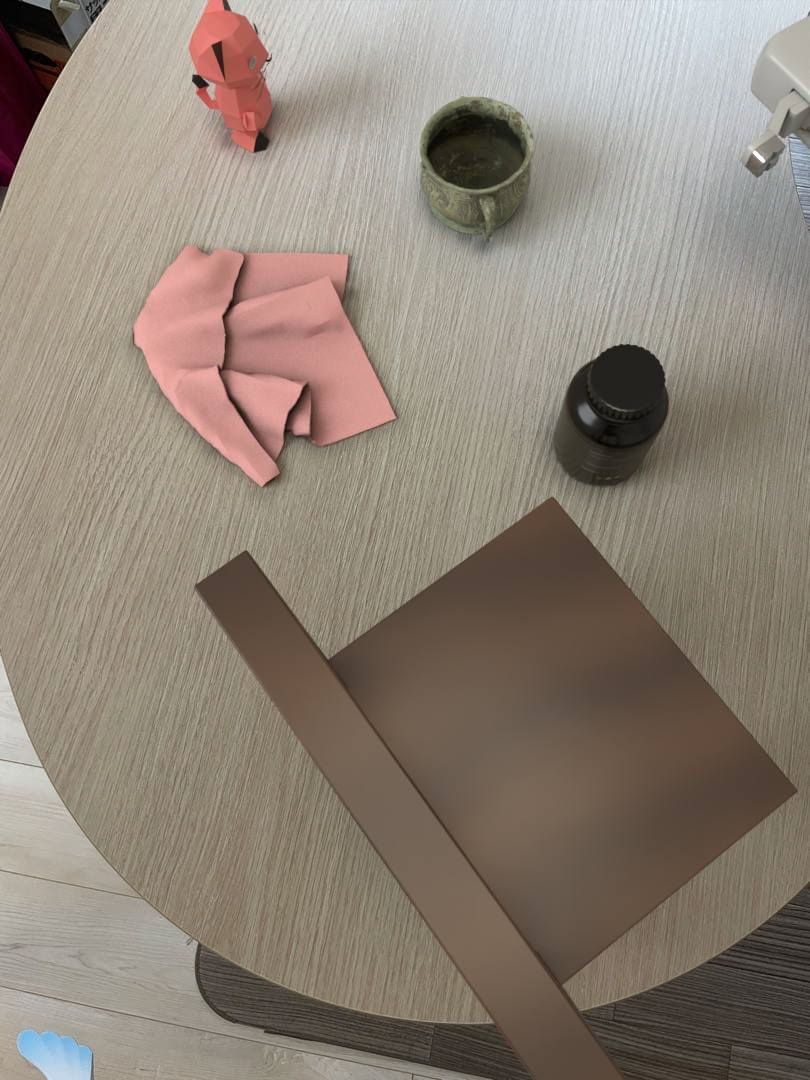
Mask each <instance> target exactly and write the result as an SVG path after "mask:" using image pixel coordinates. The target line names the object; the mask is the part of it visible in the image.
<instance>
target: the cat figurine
mask: <svg viewBox="0 0 810 1080" xmlns="http://www.w3.org/2000/svg"><path fill="white" fill-rule="evenodd" d="M252 25H253V26H252ZM262 32H263V34H264V36H265V38H267V35H266V32H265V30H262ZM259 35H260V34H259V30H258V27H257V26H256V23H255V22H253V23H252V24H251V22H250V21H249V19H248V18H247V16H246V15H243V14H240V13H237V12H235V11H233V10H232V8H231V6H230V3H229V1H228V0H208V1H207V3H206V5H205V8H204V9H203V13H202V15H201V16H200V18H199V21H198V23H197V24H196V26H195V28H194V30H193V33H192V34H191V38H190V41H189V45H188V51H189V54H190V57H191V59H192V63H193V66H194V69H195V71H196V74H192V75H191V83H193V84H194V86H196V87H195V94H196V96H198V97H199V99H200V100H201V101H202V102H203V103H204V104H205V106H207V107H208V109H209V110H215V111H216V110H217V111H220V114H221V116H222V119H223V121H224V122H223V123H224V124H225V127H226V128H227V129H231V130H233V132H232V133H231V135H230V139H231V140H232V141H233V142H234V143H235V144H236V145H237V146H238V147H239V148H242V149H245V150H247V151H249V152H251V153H254V154H255V153H257V152H258V153H259V152H261V151H266V150H267V148H268V147H269V144H270V142H271V140H270V139H268V137H267V136H266V134H264V132H262V131H261V130H260V129H264V128H265V127H266V124H267V122H268V120H269V118H270V116H271V114H273V103H272V96H271V93H270V90H269V88H268V86H267V83H266V81H267V79H266V76H267V73H268V72H267V71H266V70H267V67H268V65H269V64H270V62H272V59H273V52H271V53H270V54H269V51H268V50H267V49H266V47H265V45H264V44H263V41H262V40H261V38H260V37H259ZM265 42H266V44H268V43H267V39H265ZM268 58H269V59H268ZM266 63H267V64H266ZM265 64H266V66H265ZM264 66H265V67H264ZM262 69H263V70H262ZM208 82H209V83H208ZM210 83H212V84H214V85H215V86H214V87H215V88H214V94H213V95H214V98H215V99H212V97H211V96H210V95H209V92H208V91H207V89H208V88H209V87H210V86H211V85H210Z"/></svg>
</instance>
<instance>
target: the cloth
mask: <svg viewBox="0 0 810 1080" xmlns="http://www.w3.org/2000/svg"><path fill="white" fill-rule="evenodd" d="M348 264H349V254H339V253H319V252H282V251H281V252H238V251H235V250H231V249H226V248H216V250H214V251H213V252H212V253H211V254H208V253H204V252H202V251H201V250H200V249H199V248H197V247H196V246H195V245H185V246H184V248H183V249H182V250H181V252H179V254H178V256H177V258H176V259H175V261H174V262H173V263H171V264H170V265H169V266H167V268H166V270H165V271H164V272H163V273H162V276H161V277H160V279H159V280H158V282H157V283H156V285H155V286H154V287H153V289H152V290H150V292H149V294H148V296H147V298H146V301H145V304H144V306H143V307H142V309H141V310H140V312H139V314H138V316H137V318H136V320H135V322H134V324H133V325H132V328H131V331H132V344H133V346H135V347H137V348H139V349H141V351H142V353H143V356H144V358H145V360H146V363H147V366H148V368H149V371H150V373H151V374H152V376H153V378H154V379H155V381H156V382H157V383H158V384H159V388H160V389H161V392H162V394H163V395H164V396H165V398H167V400H168V401H169V402H170V403H171V405H172V406H173V407H174V409H175V410H176V412H177V413H178V414H179V415H180V416H181V417H182V419H184V421H186V422H188V423H189V424H190V426H191V427H192V428H193V429H194V430H195V432H196V433H197V434H198V435H199V436H200V437H201V438H202V439H203V440H204V441H205V442H206V443H209V444H210V445H212V446H213V448H214V449H215V450H216V451H217V452H218V453H219V454H220V455H221V456H222V457H223V458H225V459H226V460H227V461H228V462H229V463H231V464H233V465H235V466H237V467H238V468H240V469H241V470H242V471H243V472H244V473H245V474H246V475H247V476H248V477H249V478H250V479H251V480H253V481H254V482H255V483H256V484H257V485H258V486H259V487H260V488H262V487H263V486H264V485H265V484H267V483H268V482H269V481H271V480H272V479H273V478H275V477H277V476H278V475H280V474H281V472H280V470H279V468H278V466H277V464H276V463H277V460H278V458H279V456H280V454H281V452H282V451H283V447H284V445H285V431H291V432H292V434H293V435H294V436H295V437H297V436H301V437H303V439H305V440H306V441H307V442H309V443H312V444H313V445H316V446H318V447H324V446H329V445H332V444H334V443H337V442H340V441H343V440H346V439H348V438H350V437H353V436H356V435H359V434H361V433H363V432H366V431H369V430H372V429H374V428H377V427H380V426H381V425H383V424H386V423H389V422H392V421H394V420H397V417H396V415H395V413H394V410H393V408H392V406H391V403H390V402H389V399H388V397H387V395H386V393H385V391H384V389H383V387H382V385H381V383H380V381H379V379H378V377H377V374H376V372H375V370H374V368H373V366H372V364H371V362H370V359H369V358H368V356H367V354H366V352H365V350H364V347H363V345H362V343H361V340H359V337H358V336H357V333H356V332H355V330H354V328H353V326H352V324H351V322H350V320H349V319H348V317H347V314H346V313H345V310H344V307H343V299H344V295H345V290H346V284H347V283H346V282H347V275H348V266H349V265H348Z"/></svg>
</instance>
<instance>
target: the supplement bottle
mask: <svg viewBox="0 0 810 1080" xmlns="http://www.w3.org/2000/svg"><path fill="white" fill-rule="evenodd" d="M665 376H666V372H665V371H664V366H663V365H662V363H661V361H660V359H659V358H657V356H656V354H653V353H652V352H651V351H650V350H649V349H646V348H645V347H643V346H639V345H637V344H630V343H626V344H624V343H623V344H622V343H620V344H618V345H613V346H611V347H607V348H606V349H605V350H604V351H602V352H600V354H599V355H598V356H597V357H595V358H593V359H591V360H590V361H588V362H586V363H585V364H584V365H582V366H581V367H579V369H578V370H577V371H576V373H574V375H573V376H572V379H571V380H570V382H569V385H568V386H567V389H566V393H565V397H564V399H563V403H562V406H561V410H560V413H559V417H558V420H557V423H556V427H555V431H554V437H553V446H554V452H555V456H556V458H557V461H558V462H559V464H560V465H561V467H562V468H563V470H564V471H565V472H566V473H567V474H568V475H570V476H571V477H572V478H574V479H575V480H577V481H579V482H581V483H583V484H586V485H589V486H590V485H591V486H597V487H606V486H612V485H615V484H618V483H621V482H623V481H625V480H626V479H628V478H629V477H630V476H632V475H634V473H635V472H636V471H637V470H638V469H639V468H640V465H641V464H642V463H643V462H644V459H645V458H646V456H647V454H648V453H649V451H650V450H651V447H652V446H653V444H654V442H655V441H656V439H657V437H658V436H659V434H660V432H661V431H662V428H663V427H664V425H665V423H666V420H667V417H668V414H669V409H670V399H669V393H668V389H667V386H666V381H667V379H666V377H665Z"/></svg>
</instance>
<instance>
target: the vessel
mask: <svg viewBox="0 0 810 1080" xmlns="http://www.w3.org/2000/svg"><path fill="white" fill-rule="evenodd" d="M426 121H427V122H426V123H425V125H424V127H423V129H422V131H421V133H420V140H419V155H420V159H421V161H420V177H419V181H420V182H419V183H420V187H421V189H422V192H423V193H424V196H425V197H426V199H427V204H428V206H429V208H430V209H431V212H432V214H433V216H434V217H435V218H436V219H437V220H438V221H440V222H441V224H443V225H444V226H446V227H447V228H450V229H452V230H454V231H456V232H459V233H463V234H467V235H481V234H482V239H483V242H484V243H486V244H489V243H490V238H492V237H493V236H494V234H495V230H496V229H498V228H500V227H501V226H503V225H504V224H505V223H506V222H507V221H508V220H509V219H511V217H513V216H514V214H515V212H516V210H517V208H518V206H519V205H520V203H521V202H522V201H523V198H524V196H525V194H526V192H527V190H528V187H529V185H530V182H531V160H532V158H533V156H534V142H535V141H534V134H533V131H532V129H531V127H530V125H529V123H528V122H527V120H526V118H525V116H524V115H523V114H522V113H521V112H520V111H518V110H517V109H515V108H514V107H513V106H511V105H510V104H509V103H505V102H502V101H500V100H497V99H495V98H491V97H486V96H464V95H461V96H460V98H457V99H455V100H452V101H450V102H448V103H446V104H444V105H443V106H441V107H440V108H439V109H438V110H437V111H436V112H435V113H434V114H433V115H432V116H431V117H430V118H428V120H426Z"/></svg>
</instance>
